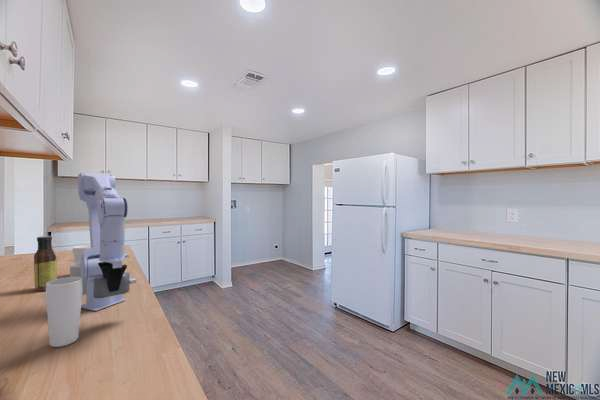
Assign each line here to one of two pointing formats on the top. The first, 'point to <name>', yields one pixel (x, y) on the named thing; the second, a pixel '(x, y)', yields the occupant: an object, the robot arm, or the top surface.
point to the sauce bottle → (44, 263)
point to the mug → (78, 274)
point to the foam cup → (80, 251)
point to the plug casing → (102, 287)
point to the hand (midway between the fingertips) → (112, 288)
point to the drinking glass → (64, 309)
